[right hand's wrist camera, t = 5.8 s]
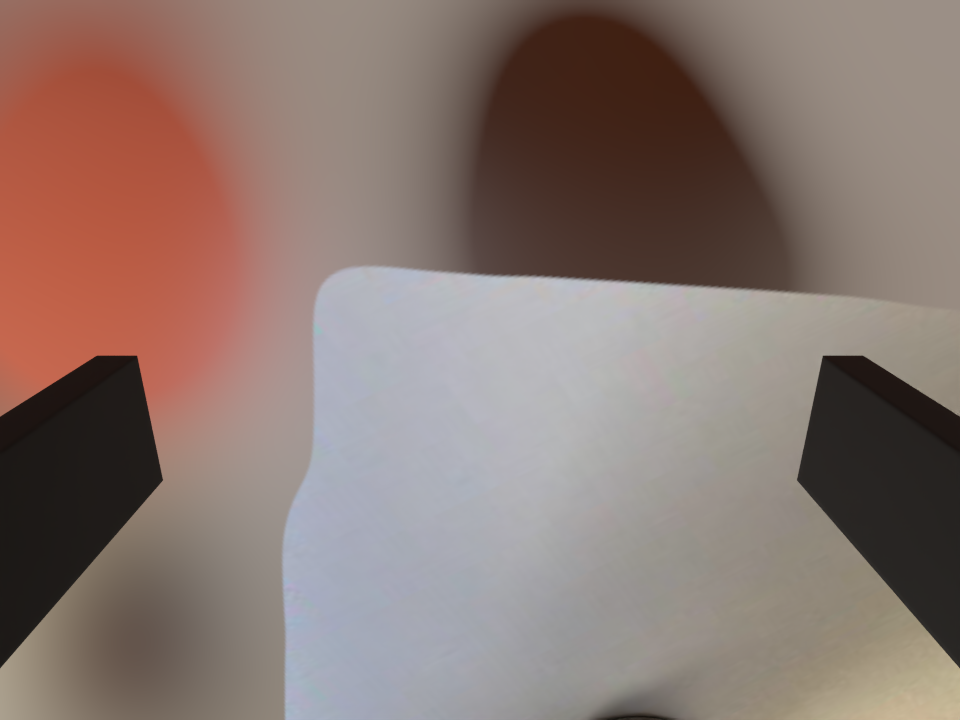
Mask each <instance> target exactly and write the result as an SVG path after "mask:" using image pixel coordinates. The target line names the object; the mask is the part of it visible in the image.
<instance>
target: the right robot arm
mask: <svg viewBox="0 0 960 720" xmlns="http://www.w3.org/2000/svg"><path fill="white" fill-rule="evenodd" d="M162 481H163V479H162V474H161V469H160V464H159V459H158V454H157V450H156V445H155V440H154V435H153V430H152V426H151V421H150V416H149V411H148V406H147V401H146V397H145V392H144V387H143V382H142V377H141V373H140V368H139V363H138V358H137V356H96V357H94V358H93V359H91V360H89V361H88V362H86V363H85V364H83V365H82V366H80V367H78V368H77V369H75V370H74V371H72V372H70V373H69V374H67V375H66V376H64V377H62V378H61V379H59V380H58V381H56V382H55V383H53V384H52V385H50V386H48V387H47V388H45V389H43V390H42V391H40V392H39V393H37V394H36V395H34V396H32V397H31V398H29V399H28V400H26V401H24V402H23V403H21V404H20V405H18V406H16V407H15V408H13V409H12V410H10V411H9V412H7V413H5V414H4V415H2V416H1V417H0V668H1V667H2V665H3V664H4V663H5V662H6V661H7V660H8V659H9V657H10V656H11V655H12V654H13V653H14V652H15V650H16V649H17V648H18V647H19V646H20V645H21V644H22V642H23V641H24V640H25V639H26V638H27V637H28V635H29V634H30V633H31V632H32V631H33V630H34V629H35V627H36V626H37V625H38V624H39V623H40V622H41V620H42V619H43V618H44V617H45V616H46V615H47V614H48V612H49V611H50V610H51V609H52V608H53V607H54V605H55V604H56V603H57V602H58V601H59V600H60V599H61V597H62V596H63V595H64V594H65V593H66V592H67V590H68V589H69V588H70V587H71V586H72V585H73V584H74V582H75V581H76V580H77V579H78V578H79V577H80V575H81V574H82V573H83V572H84V571H85V570H86V569H87V567H88V566H89V565H90V564H91V563H92V562H93V560H94V559H95V558H96V557H97V556H98V555H99V554H100V552H101V551H102V550H103V549H104V548H105V547H106V545H107V544H108V543H109V542H110V541H111V540H112V538H113V537H114V536H115V535H116V534H117V533H118V532H119V530H120V529H121V528H122V527H123V526H124V525H125V524H126V522H127V521H128V520H129V519H130V518H131V517H132V515H133V514H134V513H135V512H136V511H137V510H138V508H139V507H140V506H141V505H142V504H143V503H144V502H145V500H146V499H147V498H148V497H149V496H150V495H151V493H152V492H153V491H154V490H155V489H156V488H157V487H158V485H159V484H160V483H161V482H162ZM797 481H798V482H799V483H800V484H801V485H802V487H803V488H804V489H805V490H806V491H807V492H808V493H809V495H810V496H811V497H812V498H813V499H814V500H815V502H816V503H817V504H818V505H819V506H820V507H821V509H822V510H823V511H824V512H825V513H826V514H827V515H828V517H829V518H830V519H831V520H832V521H833V522H834V524H835V525H836V526H837V527H838V528H839V529H840V530H841V532H842V533H843V534H844V535H845V536H846V537H847V539H848V540H849V541H850V542H851V543H852V544H853V545H854V547H855V548H856V549H857V550H858V551H859V552H860V554H861V555H862V556H863V557H864V558H865V559H866V560H867V562H868V563H869V564H870V565H871V566H872V567H873V569H874V570H875V571H876V572H877V573H878V574H879V575H880V577H881V578H882V579H883V580H884V581H885V582H886V584H887V585H888V586H889V587H890V588H891V589H892V590H893V592H894V593H895V594H896V595H897V596H898V597H899V599H900V600H901V601H902V602H903V603H904V604H905V605H906V607H907V608H908V609H909V610H910V611H911V612H912V614H913V615H914V616H915V617H916V618H917V619H918V620H919V622H920V623H921V624H922V625H923V626H924V627H925V629H926V630H927V631H928V632H929V633H930V634H931V635H932V637H933V638H934V639H935V640H936V641H937V642H938V644H939V645H940V646H941V647H942V648H943V649H944V650H945V652H946V653H947V654H948V655H949V656H950V657H951V659H952V660H953V661H954V662H955V663H956V664H957V665H958V667H959V668H960V417H959V416H958V415H956V414H955V413H953V412H951V411H950V410H948V409H947V408H945V407H944V406H942V405H940V404H939V403H937V402H936V401H934V400H932V399H931V398H929V397H928V396H926V395H924V394H923V393H921V392H920V391H918V390H917V389H915V388H913V387H912V386H910V385H909V384H907V383H905V382H904V381H902V380H901V379H899V378H898V377H896V376H894V375H893V374H891V373H890V372H888V371H886V370H885V369H883V368H882V367H880V366H878V365H877V364H875V363H874V362H872V361H871V360H869V359H867V358H866V357H864V356H823V358H822V363H821V368H820V373H819V377H818V382H817V387H816V392H815V397H814V401H813V406H812V411H811V416H810V421H809V425H808V430H807V435H806V440H805V445H804V450H803V454H802V459H801V464H800V469H799V474H798V478H797ZM616 720H662V719H656V718H646V717H632V718H621V719H616Z"/></svg>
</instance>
